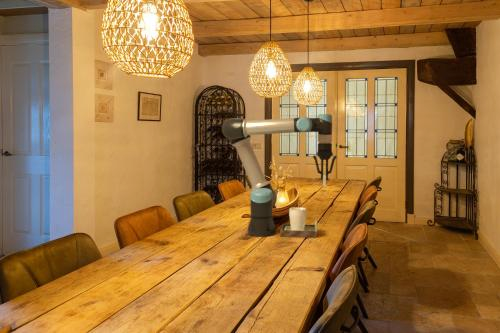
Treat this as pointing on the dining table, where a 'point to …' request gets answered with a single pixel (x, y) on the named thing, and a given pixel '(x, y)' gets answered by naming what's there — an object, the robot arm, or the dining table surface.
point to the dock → (296, 232)
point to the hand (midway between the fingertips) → (324, 186)
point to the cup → (297, 218)
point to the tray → (306, 228)
